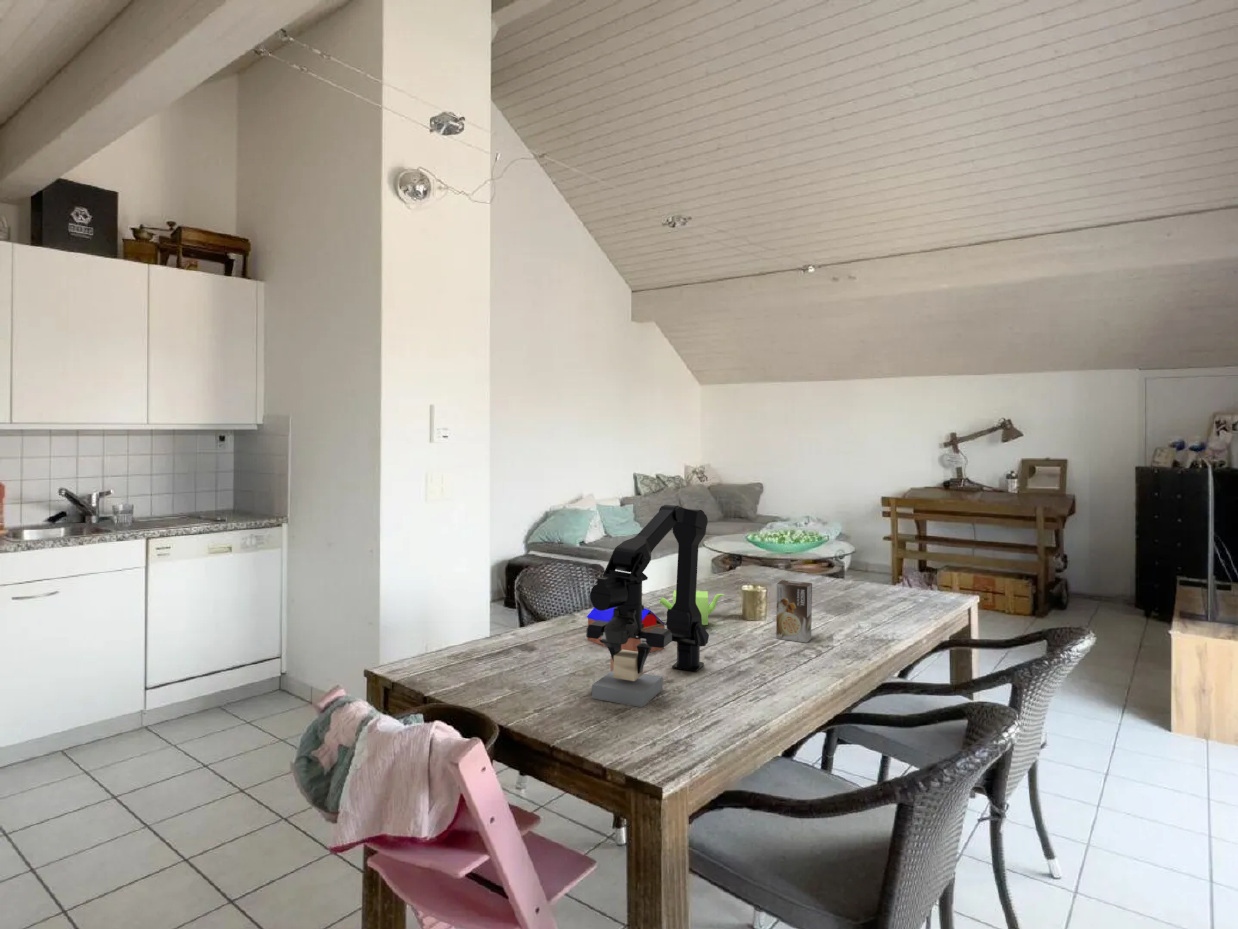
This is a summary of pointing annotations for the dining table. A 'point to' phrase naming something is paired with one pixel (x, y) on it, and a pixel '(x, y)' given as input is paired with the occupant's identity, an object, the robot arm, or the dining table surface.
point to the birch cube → (626, 665)
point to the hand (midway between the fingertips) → (628, 671)
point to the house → (649, 624)
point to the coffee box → (794, 611)
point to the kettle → (700, 602)
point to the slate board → (627, 689)
